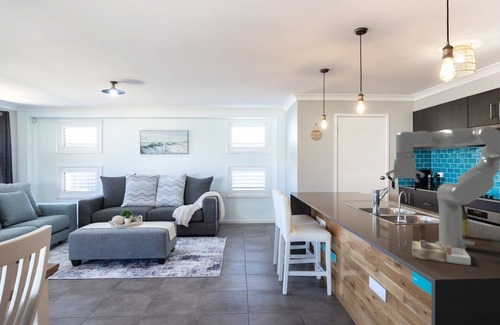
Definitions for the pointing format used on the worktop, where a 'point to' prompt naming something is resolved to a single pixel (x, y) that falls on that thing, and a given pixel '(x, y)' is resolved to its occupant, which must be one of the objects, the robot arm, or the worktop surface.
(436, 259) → the board
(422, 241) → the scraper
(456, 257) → the box
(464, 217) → the sauce bottle
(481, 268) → the worktop surface
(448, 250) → the block
